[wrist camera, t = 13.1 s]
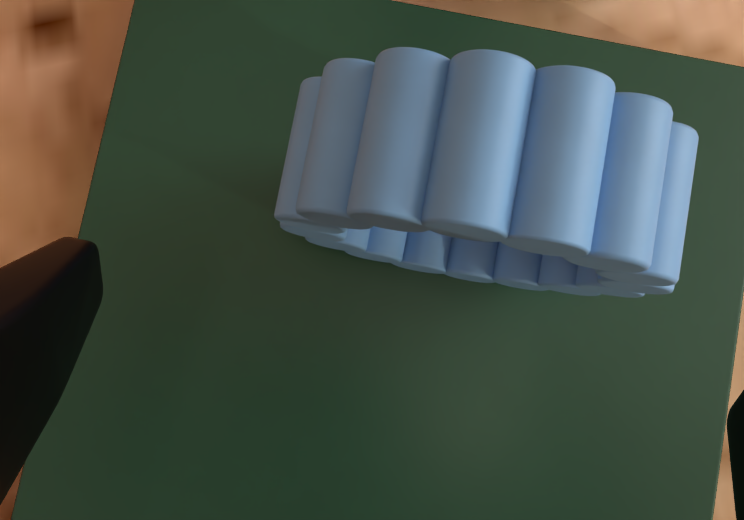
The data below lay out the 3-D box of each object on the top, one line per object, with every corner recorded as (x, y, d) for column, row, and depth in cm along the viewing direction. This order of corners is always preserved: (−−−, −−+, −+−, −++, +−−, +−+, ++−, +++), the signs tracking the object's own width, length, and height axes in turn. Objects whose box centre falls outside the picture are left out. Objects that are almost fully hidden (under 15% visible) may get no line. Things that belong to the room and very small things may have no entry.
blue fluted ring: (549, 299, 17) (787, 296, 10) (256, 237, 15) (303, 183, 8) (564, 200, 17) (808, 131, 10) (279, 129, 15) (341, -7, 9)
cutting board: (660, 664, 17) (690, 697, 15) (31, 541, 17) (-1, 560, 15) (741, 93, 18) (774, 72, 16) (162, -17, 18) (144, -48, 17)
